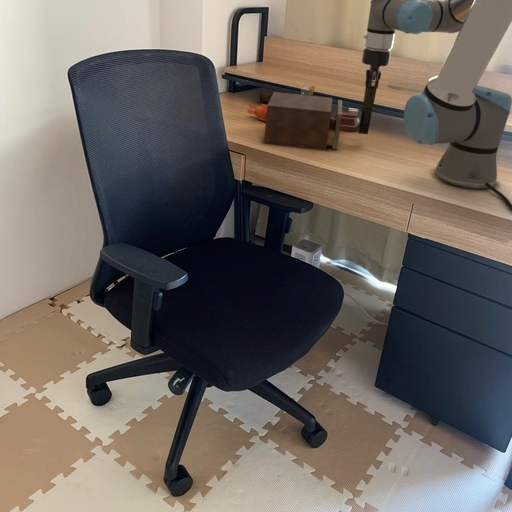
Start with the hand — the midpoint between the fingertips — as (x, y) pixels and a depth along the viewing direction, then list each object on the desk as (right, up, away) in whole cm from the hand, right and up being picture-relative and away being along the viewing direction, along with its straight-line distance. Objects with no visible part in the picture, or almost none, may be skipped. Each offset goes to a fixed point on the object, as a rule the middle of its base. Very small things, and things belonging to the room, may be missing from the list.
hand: (363, 132), depth 156 cm
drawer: (-13, -1, +2) cm, 14 cm away
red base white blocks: (-3, +5, +15) cm, 16 cm away
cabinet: (-19, -1, +3) cm, 20 cm away
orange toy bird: (-29, +9, +19) cm, 35 cm away
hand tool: (-23, +16, +32) cm, 43 cm away
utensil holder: (-16, +9, +21) cm, 28 cm away
